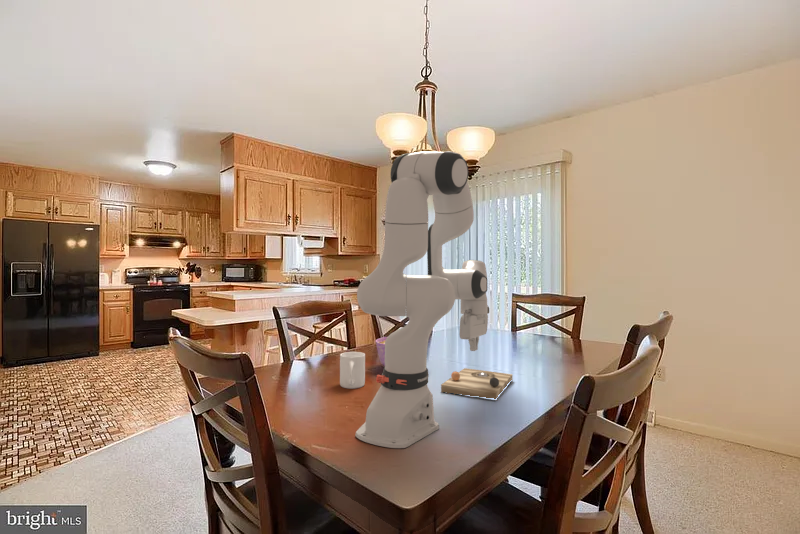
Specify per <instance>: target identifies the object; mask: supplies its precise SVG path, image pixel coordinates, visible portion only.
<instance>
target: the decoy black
mask: <svg viewBox="0 0 800 534" xmlns="http://www.w3.org/2000/svg"><path fill="white" fill-rule="evenodd" d="M490 385H491V386H492V387H497V386H498V385H499V380H498V379H497V378H495V377H493V378H491V379H490Z"/></svg>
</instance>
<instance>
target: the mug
mask: <svg viewBox="0 0 800 534" xmlns="http://www.w3.org/2000/svg"><path fill="white" fill-rule="evenodd" d="M365 382H366V353H365V352H361V351H348V352H346V351H345V352H343V353H340V355H339V385H340V387H342V388H343V389H353V390H354V389H359V388H363V387H364V386H365V385H366V384H365Z"/></svg>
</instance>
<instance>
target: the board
mask: <svg viewBox="0 0 800 534" xmlns="http://www.w3.org/2000/svg"><path fill="white" fill-rule="evenodd" d="M457 372H458V373H459V374H460V378H459V380H453V379H452V377H451V376H450V378H449V379H447V380H446V381H444V382H443V383H442V384H440V393H443V392H447V393H446V394H449V393H454V394H453V395H455V394H462V395H470V396H479V397H486V398H494V399H496V398H497V397H498V395H499V394H500V393H501V392H502V391H503V389H504V388H505V387H506V386H507V384H508V383H509V382H510V381H511V380H512V381H513V373H504V372H497V371H489V370H482V369H475V368H474V369H473V368H467V367H463V368H462V369H461V370H460V371H457ZM481 372H484V373H486V374H487V375H488V377H481V376H478V375H479V374H480V373H481ZM493 377H495V378H497V379H498V380H499V385H498V386H497V387H492V386H491V385H490V379H491V378H493Z"/></svg>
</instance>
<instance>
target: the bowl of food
mask: <svg viewBox="0 0 800 534" xmlns="http://www.w3.org/2000/svg"><path fill="white" fill-rule="evenodd" d="M387 337H388V336H383V337H380V338H377V339H375V345H376V349H377V355H378V358H379V361H380V363H381V365H382V366H384V367H385V341H386V339H387Z"/></svg>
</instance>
